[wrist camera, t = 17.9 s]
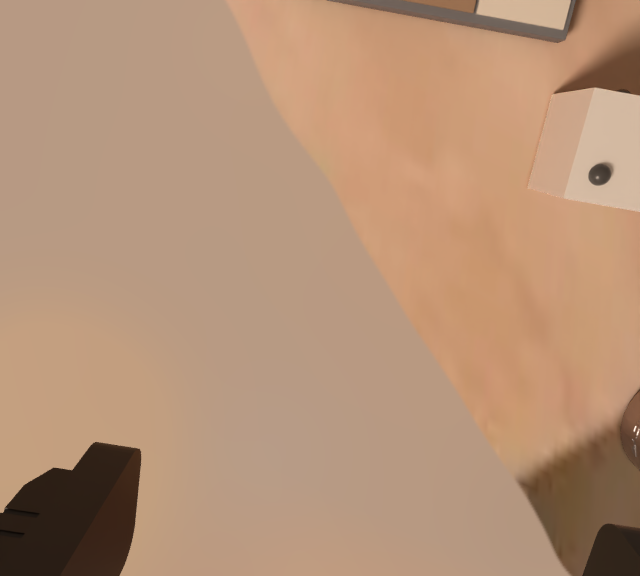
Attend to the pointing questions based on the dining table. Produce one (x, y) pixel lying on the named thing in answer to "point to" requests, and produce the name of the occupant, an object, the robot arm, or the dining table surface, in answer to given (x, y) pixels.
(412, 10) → the board
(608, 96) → the die
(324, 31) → the dining table surface
